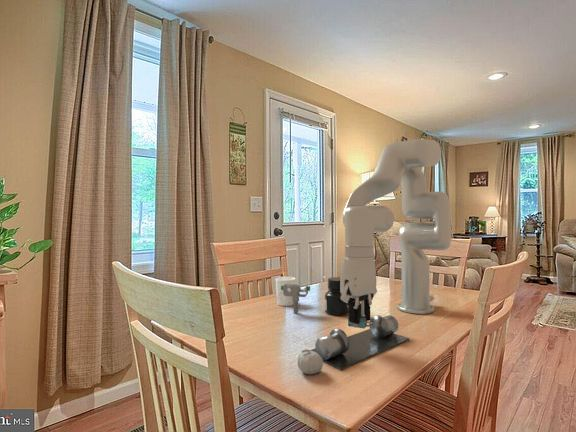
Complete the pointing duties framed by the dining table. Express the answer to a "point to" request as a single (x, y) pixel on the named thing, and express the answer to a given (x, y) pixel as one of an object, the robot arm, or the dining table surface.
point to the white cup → (281, 298)
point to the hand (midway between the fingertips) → (359, 320)
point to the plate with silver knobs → (359, 343)
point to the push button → (362, 317)
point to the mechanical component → (294, 293)
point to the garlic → (309, 362)
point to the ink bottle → (335, 298)
